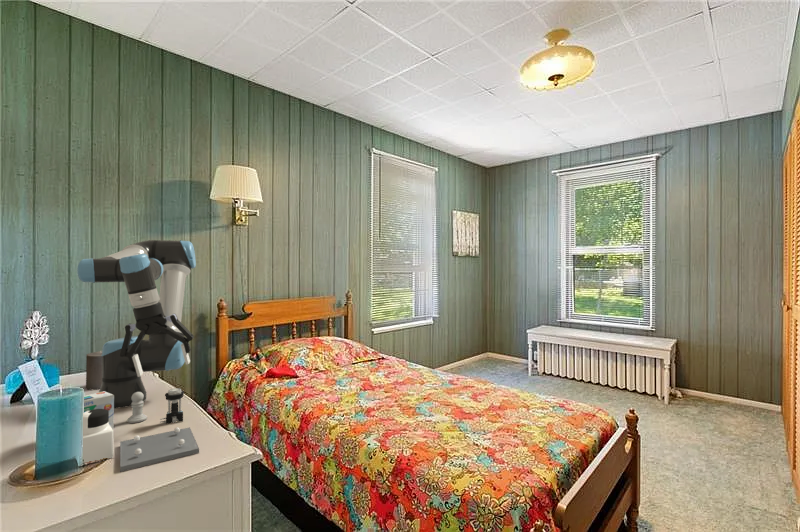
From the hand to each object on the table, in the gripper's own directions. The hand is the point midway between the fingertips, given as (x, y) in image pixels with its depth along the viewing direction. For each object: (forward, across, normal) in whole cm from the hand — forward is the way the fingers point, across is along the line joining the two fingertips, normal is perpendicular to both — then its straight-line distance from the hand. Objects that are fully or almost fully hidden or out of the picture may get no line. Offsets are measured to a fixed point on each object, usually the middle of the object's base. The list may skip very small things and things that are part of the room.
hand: (164, 369), depth 126 cm
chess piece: (+15, -12, +3) cm, 20 cm away
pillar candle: (+14, -39, +50) cm, 65 cm away
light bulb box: (+12, -22, -4) cm, 26 cm away
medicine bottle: (+12, -14, -22) cm, 29 cm away
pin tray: (+15, 0, -22) cm, 27 cm away
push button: (+17, -2, -2) cm, 17 cm away
